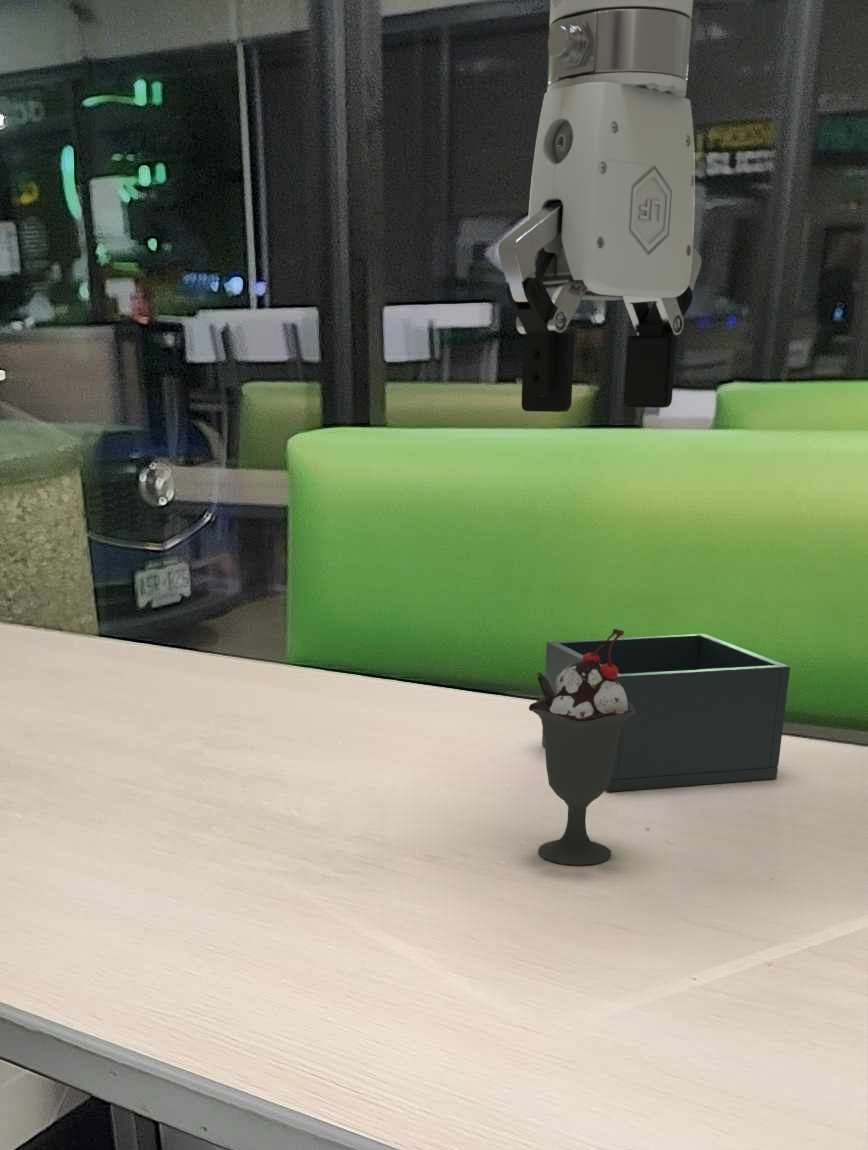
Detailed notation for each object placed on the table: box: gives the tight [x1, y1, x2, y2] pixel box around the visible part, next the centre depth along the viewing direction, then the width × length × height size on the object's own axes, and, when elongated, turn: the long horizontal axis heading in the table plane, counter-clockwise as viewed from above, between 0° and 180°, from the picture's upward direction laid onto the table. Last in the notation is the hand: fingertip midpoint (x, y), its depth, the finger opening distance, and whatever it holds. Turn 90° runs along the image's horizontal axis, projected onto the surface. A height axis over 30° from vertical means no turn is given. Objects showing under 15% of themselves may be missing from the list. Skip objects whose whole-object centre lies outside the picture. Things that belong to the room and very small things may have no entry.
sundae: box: [528, 628, 635, 866], centre depth 87 cm, size 7×7×15 cm
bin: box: [541, 633, 791, 793], centre depth 109 cm, size 15×15×9 cm
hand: (598, 409), depth 79 cm, fingers open, 9 cm apart
